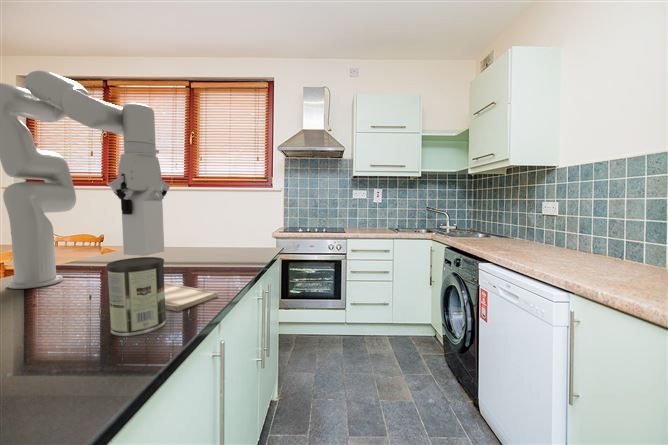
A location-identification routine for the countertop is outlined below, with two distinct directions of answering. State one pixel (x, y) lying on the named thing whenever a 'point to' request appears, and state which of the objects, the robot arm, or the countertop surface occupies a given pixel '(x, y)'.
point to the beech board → (185, 296)
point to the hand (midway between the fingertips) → (142, 213)
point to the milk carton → (144, 224)
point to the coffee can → (136, 295)
